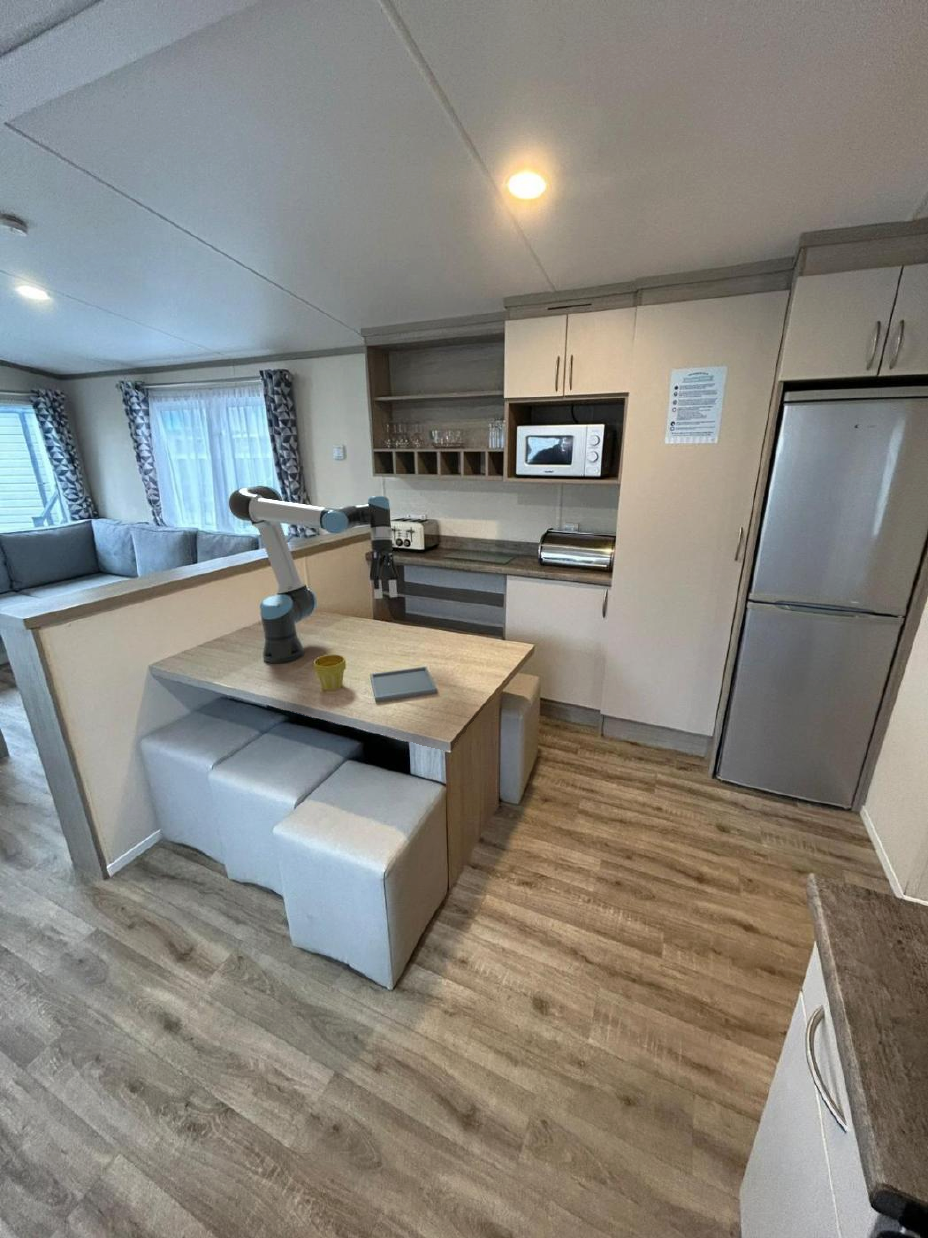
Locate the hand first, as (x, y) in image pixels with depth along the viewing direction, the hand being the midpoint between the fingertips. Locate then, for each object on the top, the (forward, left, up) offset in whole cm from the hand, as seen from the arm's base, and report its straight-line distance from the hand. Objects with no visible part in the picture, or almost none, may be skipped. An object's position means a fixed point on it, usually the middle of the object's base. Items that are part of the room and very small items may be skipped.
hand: (386, 597), depth 178 cm
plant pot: (-22, -18, -24) cm, 37 cm away
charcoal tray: (+1, -25, -24) cm, 35 cm away
